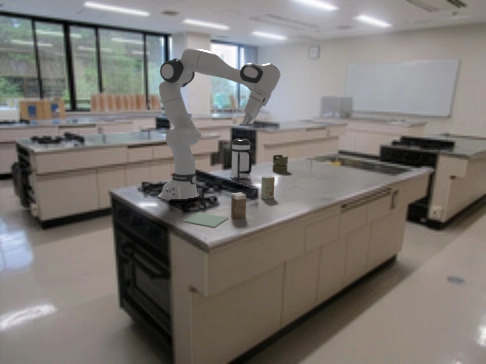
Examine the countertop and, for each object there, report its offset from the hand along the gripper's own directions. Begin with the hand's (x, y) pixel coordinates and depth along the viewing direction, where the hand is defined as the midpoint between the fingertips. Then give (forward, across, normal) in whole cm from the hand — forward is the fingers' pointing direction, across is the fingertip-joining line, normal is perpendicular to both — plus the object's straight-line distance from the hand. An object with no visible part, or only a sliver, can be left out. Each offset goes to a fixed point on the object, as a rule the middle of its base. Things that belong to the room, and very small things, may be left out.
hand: (244, 124), depth 162 cm
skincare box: (+29, -30, +26) cm, 49 cm away
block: (+40, +3, +18) cm, 44 cm away
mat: (+47, +10, +6) cm, 48 cm away
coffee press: (+31, -72, +5) cm, 79 cm away
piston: (+14, -103, +25) cm, 107 cm away
